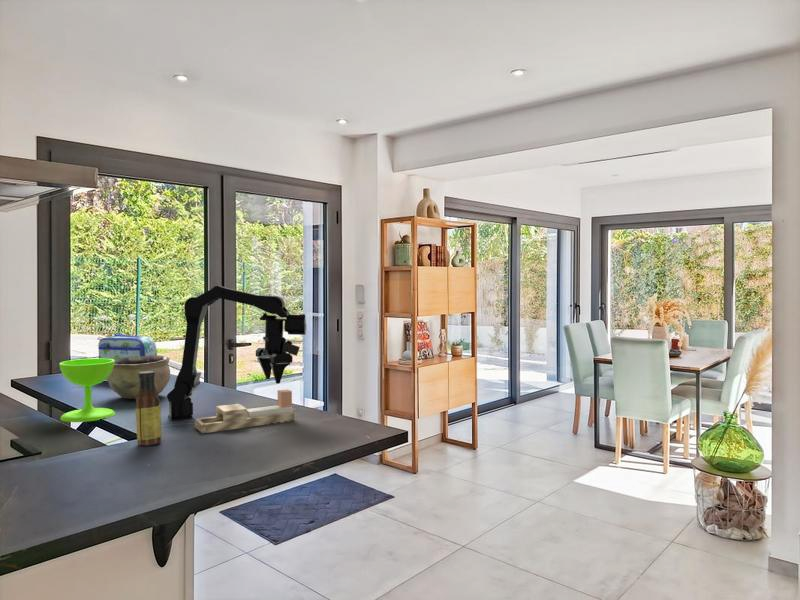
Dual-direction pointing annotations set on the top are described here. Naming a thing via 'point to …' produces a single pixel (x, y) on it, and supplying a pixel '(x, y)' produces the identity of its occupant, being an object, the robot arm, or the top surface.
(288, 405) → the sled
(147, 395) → the sauce bottle
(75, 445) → the top surface
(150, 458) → the top surface
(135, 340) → the lunch box
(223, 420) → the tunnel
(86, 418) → the wineglass
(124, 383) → the ceramic bowl
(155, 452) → the top surface
